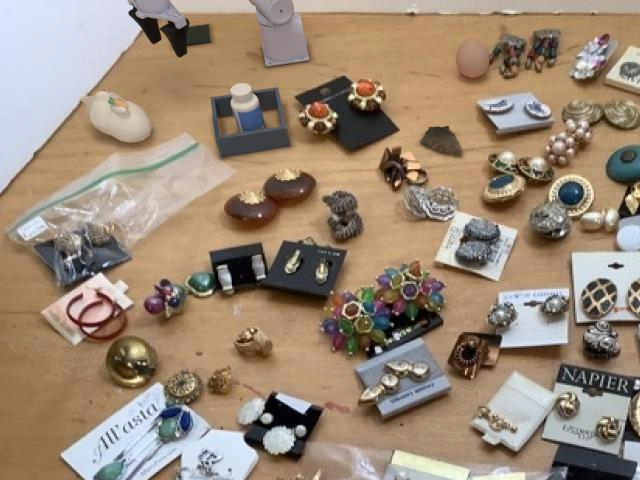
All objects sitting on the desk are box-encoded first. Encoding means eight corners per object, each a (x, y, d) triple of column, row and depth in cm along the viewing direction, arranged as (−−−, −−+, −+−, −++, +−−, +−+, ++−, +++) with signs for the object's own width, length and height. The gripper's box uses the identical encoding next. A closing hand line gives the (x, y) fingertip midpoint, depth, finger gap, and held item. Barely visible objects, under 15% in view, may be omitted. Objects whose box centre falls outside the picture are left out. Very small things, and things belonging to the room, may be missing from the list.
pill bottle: (272, 128, 165) (261, 86, 157) (253, 142, 162) (242, 101, 154) (251, 119, 166) (240, 77, 158) (233, 133, 164) (220, 91, 156)
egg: (463, 62, 179) (463, 27, 172) (494, 69, 177) (494, 34, 170) (451, 80, 175) (450, 45, 168) (482, 88, 173) (482, 53, 167)
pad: (208, 25, 186) (208, 24, 185) (210, 42, 182) (210, 41, 182) (172, 30, 184) (172, 29, 184) (174, 47, 181) (173, 46, 180)
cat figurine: (143, 102, 154) (79, 72, 156) (124, 140, 154) (60, 110, 156) (169, 121, 163) (109, 93, 166) (151, 157, 163) (91, 128, 166)
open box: (282, 105, 169) (278, 86, 165) (290, 146, 161) (286, 127, 158) (216, 115, 167) (210, 97, 163) (221, 157, 159) (215, 139, 156)
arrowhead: (460, 160, 160) (460, 154, 158) (416, 145, 162) (416, 140, 161) (476, 139, 163) (476, 134, 162) (433, 125, 166) (433, 120, 165)
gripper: (104, -21, 152) (129, 45, 163) (156, 4, 148) (178, 70, 159) (133, -36, 156) (156, 29, 167) (185, -12, 151) (205, 53, 162)
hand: (169, 48), depth 163 cm, fingers open, 7 cm apart
